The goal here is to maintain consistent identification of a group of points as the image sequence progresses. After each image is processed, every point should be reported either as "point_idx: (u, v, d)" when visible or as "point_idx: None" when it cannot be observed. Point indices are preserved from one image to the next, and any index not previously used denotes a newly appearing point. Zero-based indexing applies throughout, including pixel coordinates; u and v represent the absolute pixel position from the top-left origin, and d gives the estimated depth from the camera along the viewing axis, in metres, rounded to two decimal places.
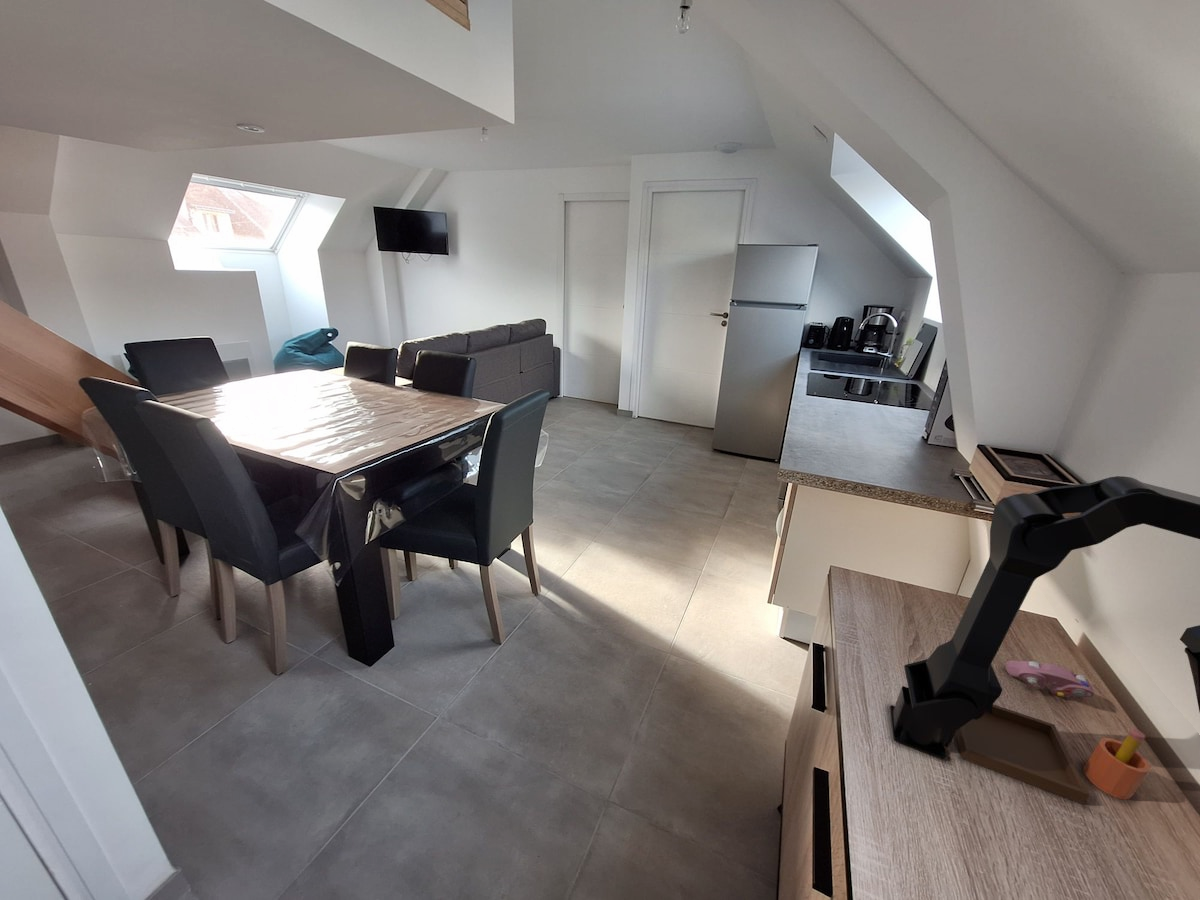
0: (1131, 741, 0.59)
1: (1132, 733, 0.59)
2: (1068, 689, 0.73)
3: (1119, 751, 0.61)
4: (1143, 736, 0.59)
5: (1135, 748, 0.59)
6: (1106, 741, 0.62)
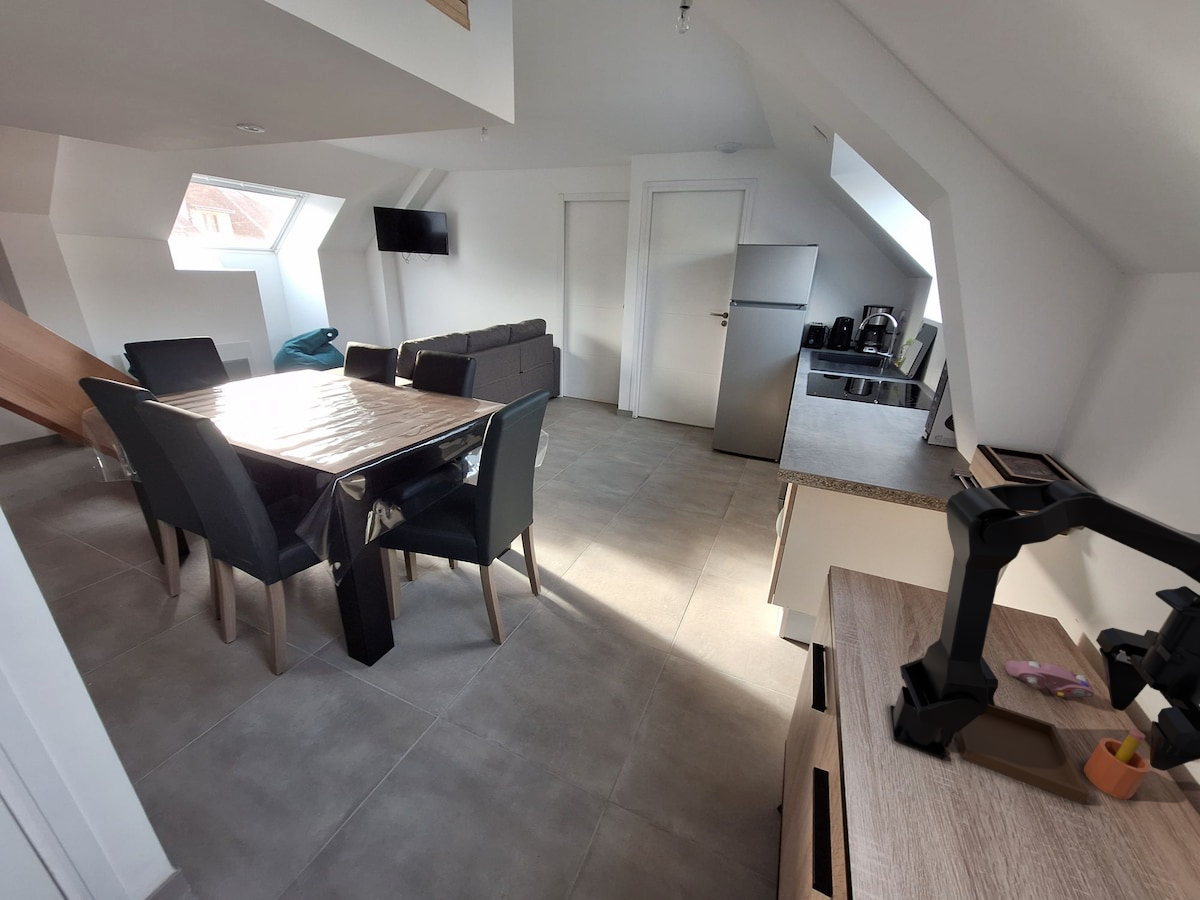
0: (1131, 741, 0.59)
1: (1132, 733, 0.59)
2: (1068, 689, 0.73)
3: (1119, 751, 0.61)
4: (1143, 736, 0.59)
5: (1135, 748, 0.59)
6: (1106, 741, 0.62)
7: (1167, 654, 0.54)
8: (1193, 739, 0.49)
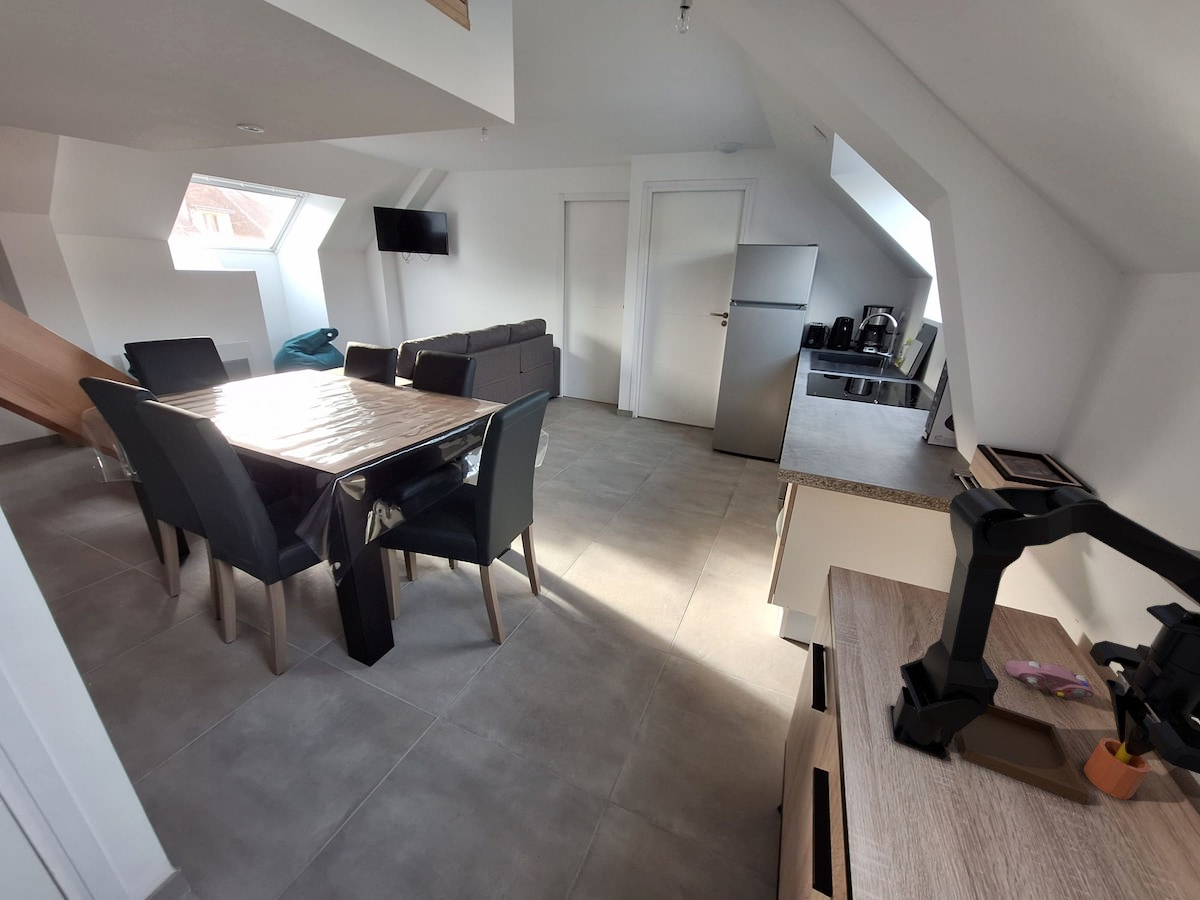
0: None
1: None
2: (1068, 689, 0.73)
3: (1119, 751, 0.61)
4: None
5: None
6: (1106, 741, 0.62)
7: (1158, 669, 0.55)
8: (1183, 754, 0.50)
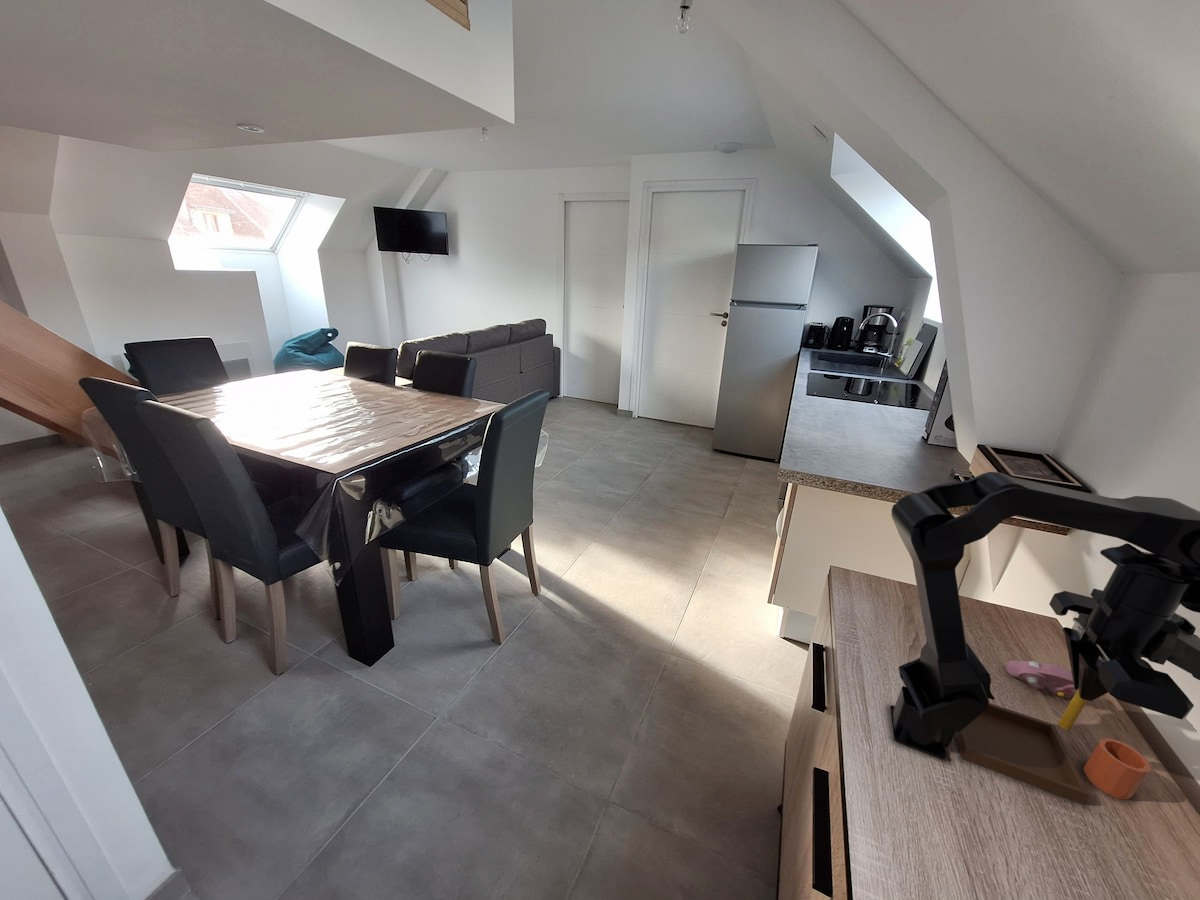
0: None
1: None
2: (1068, 689, 0.73)
3: (1074, 697, 0.61)
4: None
5: None
6: (1106, 741, 0.62)
7: (1109, 610, 0.55)
8: (1129, 688, 0.50)
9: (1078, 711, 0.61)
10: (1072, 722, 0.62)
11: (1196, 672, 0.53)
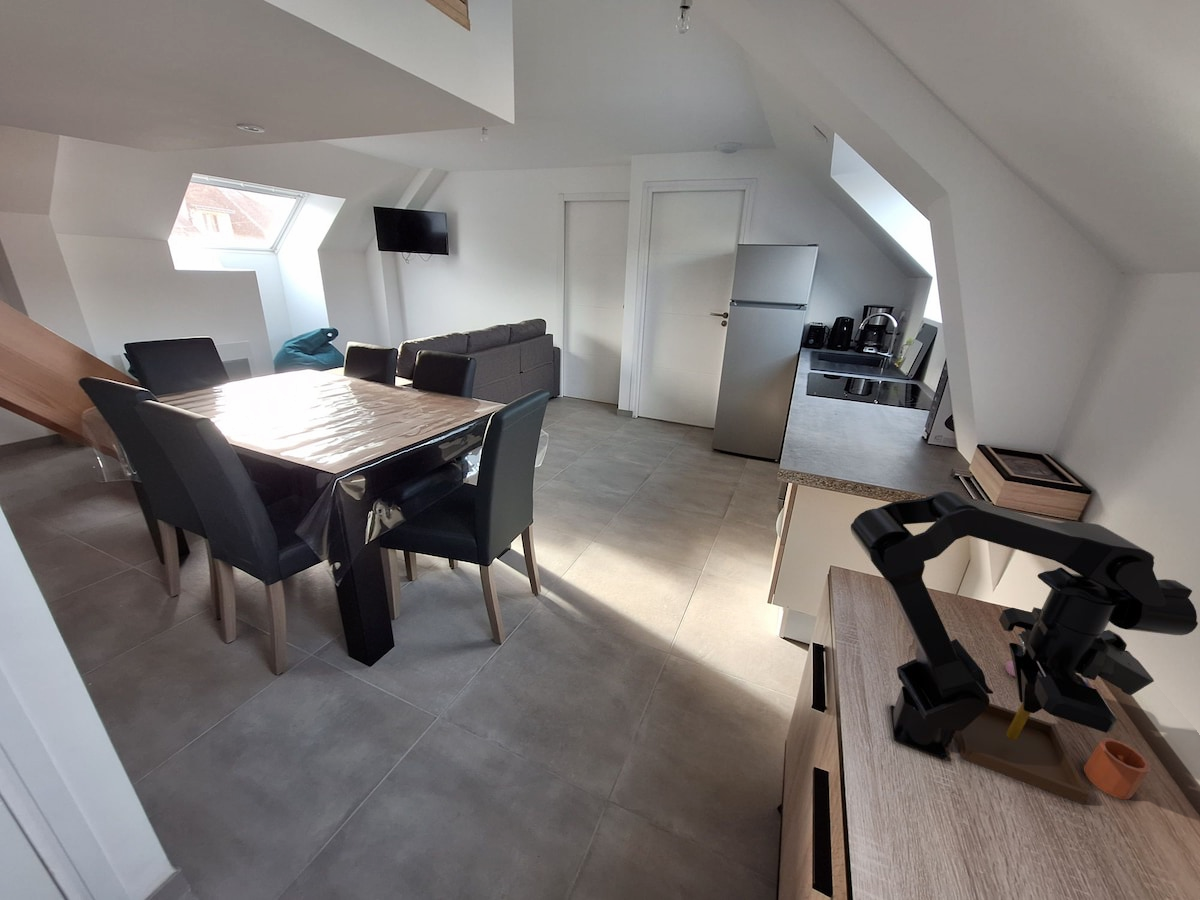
0: None
1: None
2: None
3: (1019, 709, 0.65)
4: None
5: None
6: (1106, 741, 0.62)
7: (1045, 628, 0.58)
8: (1059, 704, 0.54)
9: (1023, 722, 0.64)
10: (1018, 733, 0.65)
11: (1124, 687, 0.56)
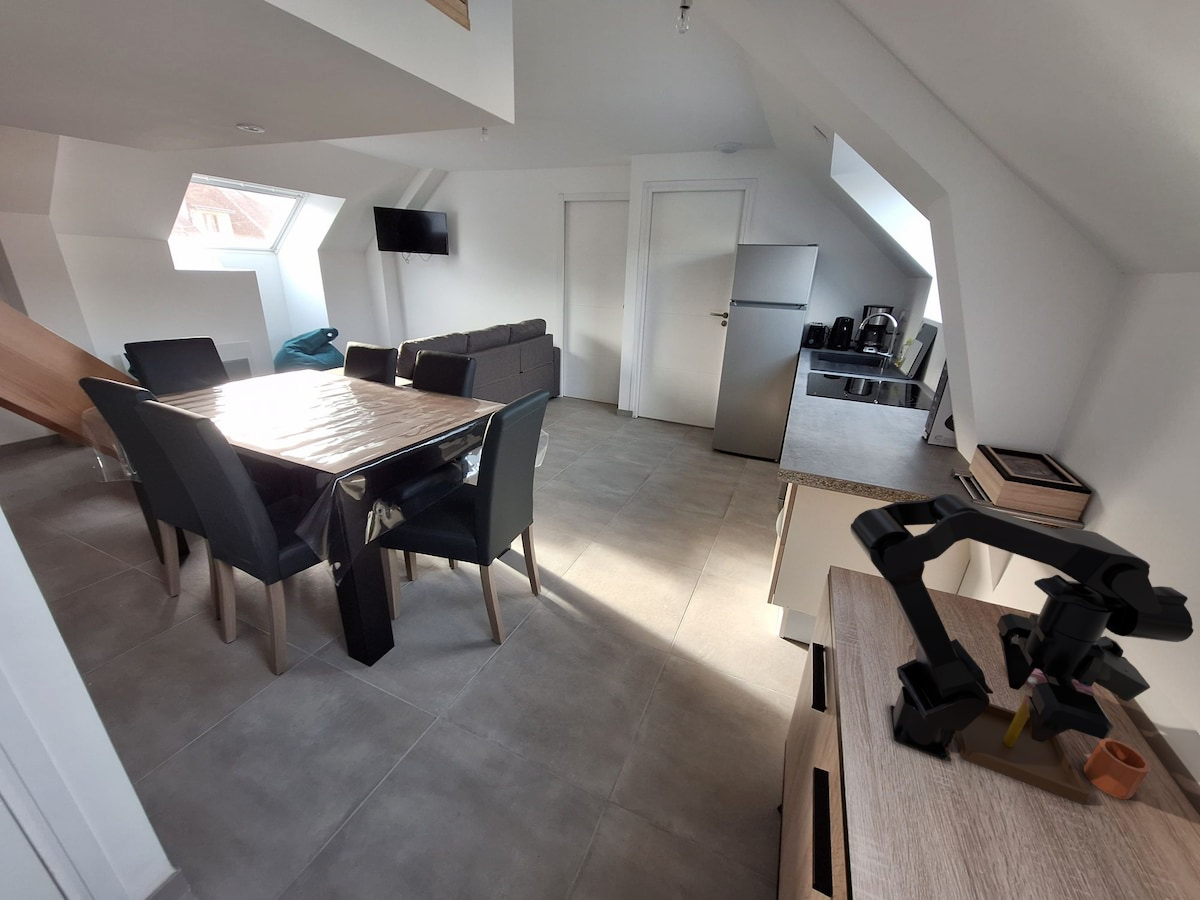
0: (1024, 706, 0.64)
1: (1025, 699, 0.64)
2: None
3: (1015, 716, 0.65)
4: None
5: (1028, 713, 0.64)
6: (1106, 741, 0.62)
7: (1042, 635, 0.59)
8: (1055, 711, 0.54)
9: (1019, 729, 0.65)
10: (1014, 740, 0.66)
11: (1121, 693, 0.57)
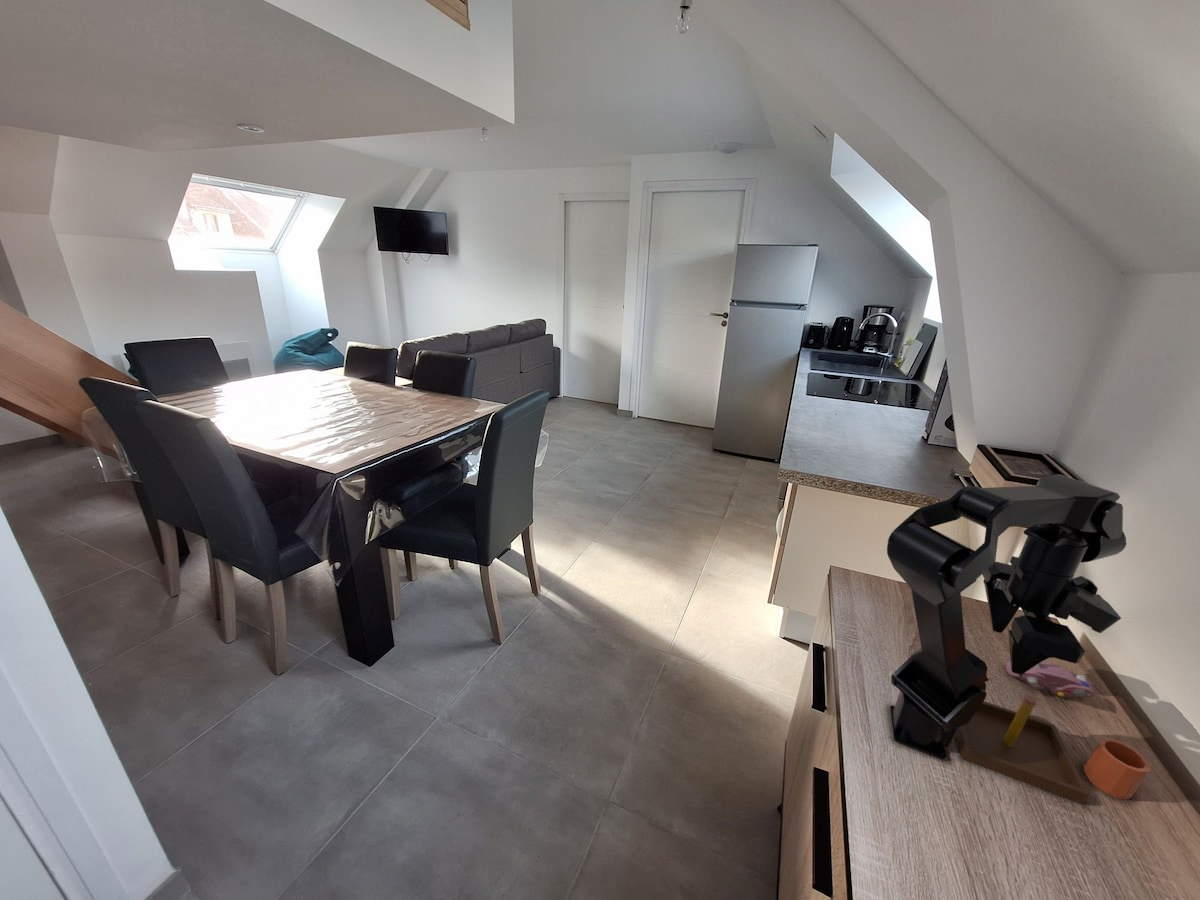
0: (1024, 706, 0.64)
1: (1025, 699, 0.64)
2: (1068, 689, 0.73)
3: (1015, 716, 0.65)
4: (1034, 701, 0.63)
5: (1028, 713, 0.64)
6: (1106, 741, 0.62)
7: (1021, 573, 0.63)
8: (1032, 638, 0.58)
9: (1019, 729, 0.65)
10: (1014, 740, 0.66)
11: (1094, 625, 0.61)
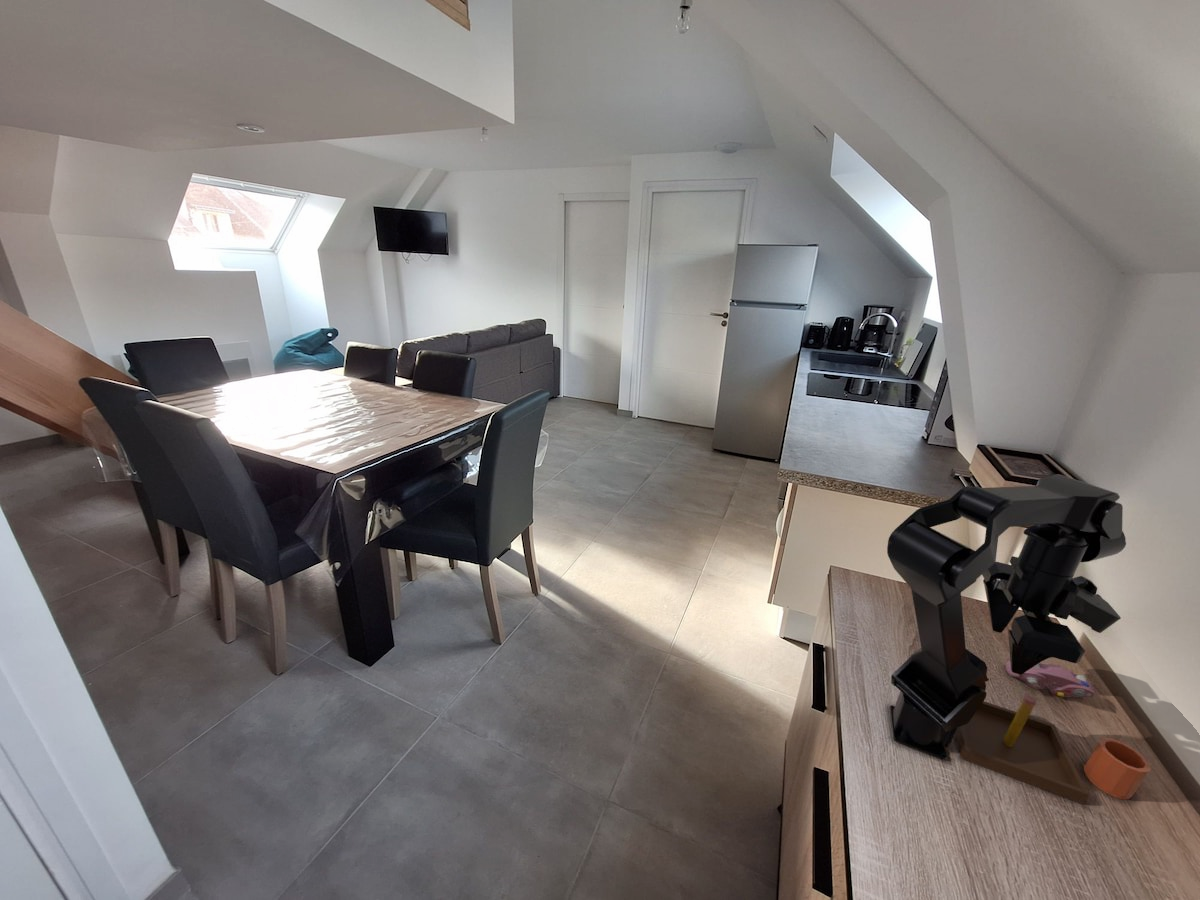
0: (1024, 706, 0.64)
1: (1025, 699, 0.64)
2: (1068, 689, 0.73)
3: (1015, 716, 0.65)
4: (1034, 701, 0.63)
5: (1028, 713, 0.64)
6: (1106, 741, 0.62)
7: (1021, 573, 0.63)
8: (1032, 638, 0.58)
9: (1019, 729, 0.65)
10: (1014, 740, 0.66)
11: (1094, 625, 0.61)
